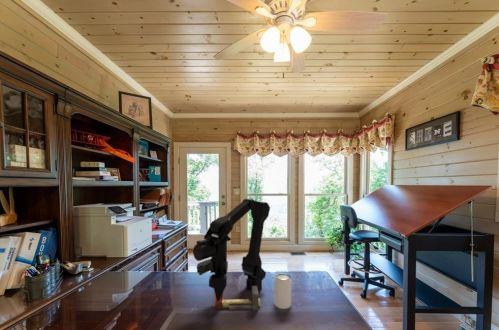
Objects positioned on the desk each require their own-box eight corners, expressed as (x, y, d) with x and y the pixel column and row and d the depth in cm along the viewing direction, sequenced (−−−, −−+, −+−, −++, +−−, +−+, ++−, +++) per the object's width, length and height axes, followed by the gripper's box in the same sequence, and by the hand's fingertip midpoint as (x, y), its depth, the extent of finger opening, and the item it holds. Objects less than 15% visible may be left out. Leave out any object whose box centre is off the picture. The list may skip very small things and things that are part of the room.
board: (263, 300, 102) (263, 283, 102) (267, 316, 91) (267, 296, 91) (197, 302, 101) (197, 284, 101) (192, 318, 90) (192, 298, 90)
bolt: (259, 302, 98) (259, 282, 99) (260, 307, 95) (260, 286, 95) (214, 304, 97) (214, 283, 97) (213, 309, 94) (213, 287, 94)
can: (280, 313, 93) (280, 281, 93) (271, 305, 99) (271, 274, 99) (294, 309, 96) (294, 278, 96) (284, 301, 102) (284, 271, 102)
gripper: (201, 246, 105) (201, 283, 105) (194, 263, 86) (194, 308, 86) (227, 246, 106) (227, 283, 105) (226, 262, 87) (226, 307, 87)
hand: (219, 294), depth 96 cm, fingers open, 9 cm apart
